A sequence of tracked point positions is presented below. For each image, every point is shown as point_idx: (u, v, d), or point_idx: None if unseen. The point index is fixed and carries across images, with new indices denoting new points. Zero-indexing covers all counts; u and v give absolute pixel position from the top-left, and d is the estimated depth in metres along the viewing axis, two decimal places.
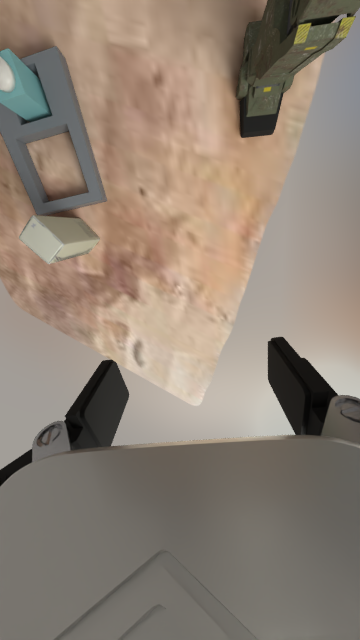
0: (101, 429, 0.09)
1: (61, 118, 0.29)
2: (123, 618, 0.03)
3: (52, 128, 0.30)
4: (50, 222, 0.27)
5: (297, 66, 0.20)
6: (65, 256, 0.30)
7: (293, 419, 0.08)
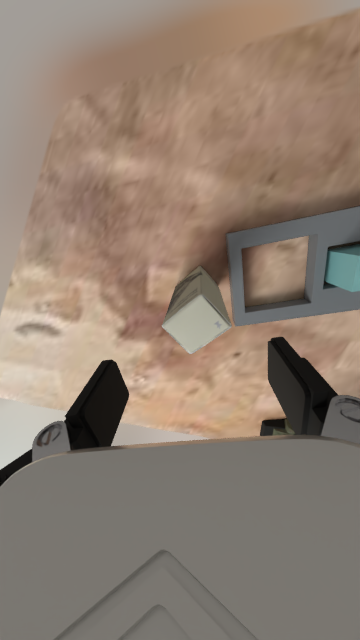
0: (101, 429, 0.09)
1: (317, 298, 0.26)
2: (123, 618, 0.03)
3: (312, 284, 0.25)
4: None
5: None
6: None
7: (293, 419, 0.08)
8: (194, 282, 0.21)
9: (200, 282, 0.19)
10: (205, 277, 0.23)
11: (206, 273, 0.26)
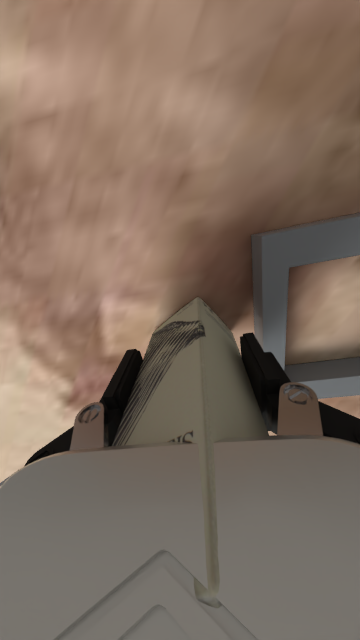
0: None
1: None
2: (123, 618, 0.03)
3: None
4: None
5: None
6: None
7: None
8: (185, 367, 0.08)
9: (202, 392, 0.06)
10: (211, 337, 0.10)
11: (211, 314, 0.13)
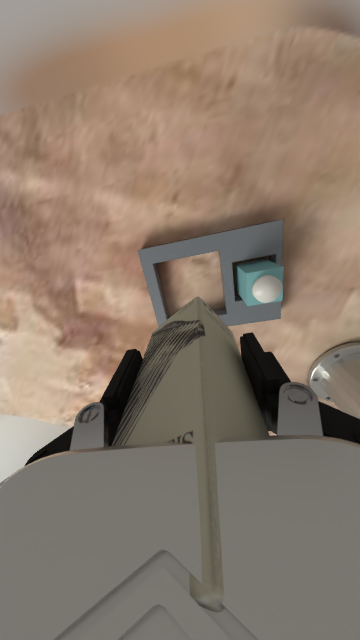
0: None
1: (231, 310, 0.27)
2: (123, 618, 0.03)
3: (225, 297, 0.27)
4: None
5: None
6: None
7: None
8: (185, 367, 0.08)
9: (202, 392, 0.06)
10: (211, 336, 0.10)
11: (211, 314, 0.13)
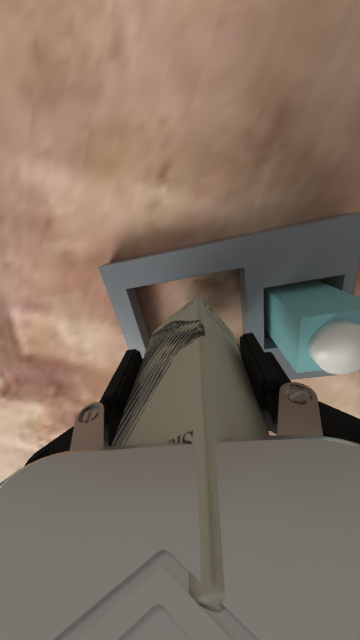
0: None
1: None
2: (123, 618, 0.03)
3: None
4: None
5: None
6: None
7: None
8: (185, 367, 0.08)
9: (202, 391, 0.06)
10: (211, 336, 0.10)
11: (211, 313, 0.13)
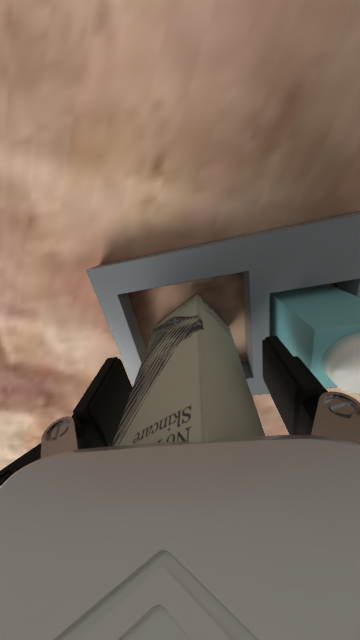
0: (107, 425, 0.09)
1: (262, 371, 0.15)
2: (123, 618, 0.03)
3: (251, 351, 0.15)
4: None
5: None
6: None
7: (286, 415, 0.09)
8: (184, 356, 0.09)
9: (199, 375, 0.07)
10: (209, 330, 0.11)
11: (209, 310, 0.14)
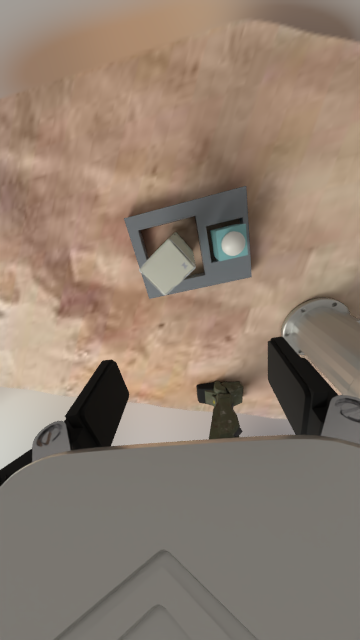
0: (101, 429, 0.09)
1: (209, 270, 0.31)
2: (123, 618, 0.03)
3: (202, 259, 0.31)
4: None
5: None
6: None
7: (293, 419, 0.08)
8: (167, 239, 0.24)
9: (171, 236, 0.23)
10: (178, 237, 0.27)
11: (180, 238, 0.30)
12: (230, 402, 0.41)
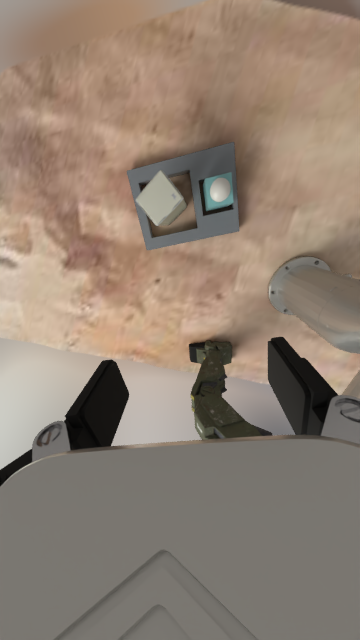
0: (101, 429, 0.09)
1: (200, 224, 0.35)
2: (123, 618, 0.03)
3: (195, 212, 0.34)
4: (178, 207, 0.26)
5: None
6: None
7: (293, 419, 0.08)
8: None
9: None
10: None
11: None
12: (218, 356, 0.44)
